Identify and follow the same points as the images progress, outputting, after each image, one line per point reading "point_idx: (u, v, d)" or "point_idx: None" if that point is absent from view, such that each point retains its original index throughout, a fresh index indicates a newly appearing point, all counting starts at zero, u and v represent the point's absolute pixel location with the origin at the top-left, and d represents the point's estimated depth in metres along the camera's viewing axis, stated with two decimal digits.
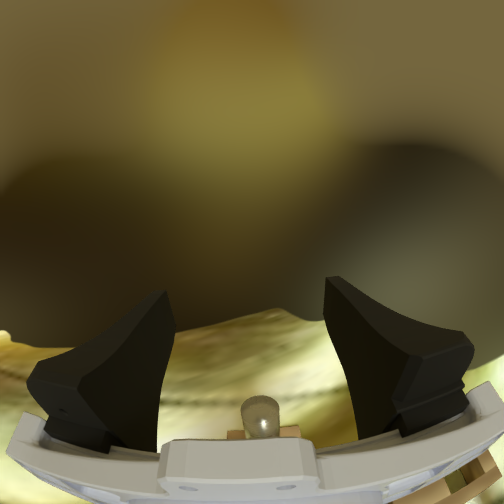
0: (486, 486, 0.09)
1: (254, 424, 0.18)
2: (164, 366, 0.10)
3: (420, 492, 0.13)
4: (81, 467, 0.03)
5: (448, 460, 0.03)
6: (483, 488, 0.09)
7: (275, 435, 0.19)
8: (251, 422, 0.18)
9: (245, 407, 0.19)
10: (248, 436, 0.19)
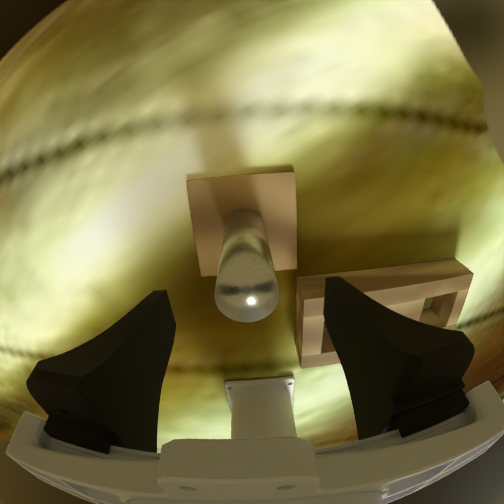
0: None
1: (239, 319, 0.13)
2: (164, 366, 0.10)
3: None
4: (81, 467, 0.03)
5: (448, 460, 0.03)
6: None
7: None
8: (234, 319, 0.13)
9: (221, 294, 0.13)
10: None
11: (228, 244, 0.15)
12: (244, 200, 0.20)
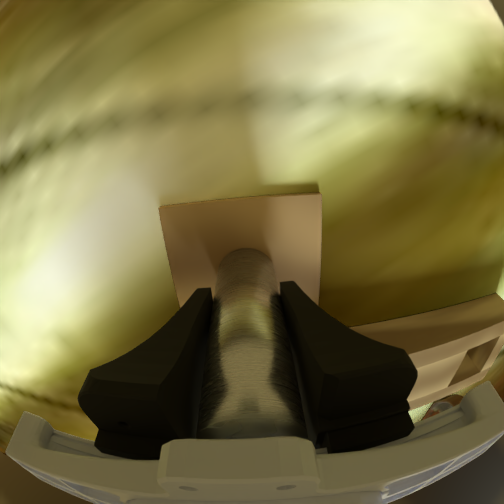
0: (469, 384, 0.17)
1: None
2: None
3: (430, 382, 0.16)
4: (81, 467, 0.03)
5: (448, 460, 0.03)
6: (466, 385, 0.17)
7: None
8: None
9: None
10: None
11: (219, 333, 0.09)
12: (245, 236, 0.14)
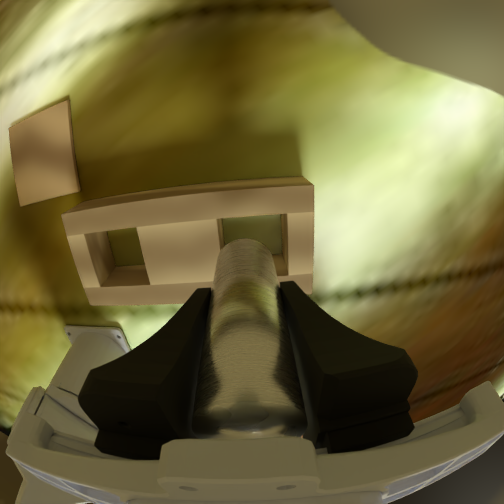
0: None
1: None
2: None
3: (181, 259, 0.19)
4: (81, 467, 0.03)
5: (448, 460, 0.03)
6: None
7: None
8: None
9: (205, 432, 0.06)
10: None
11: (211, 323, 0.09)
12: (37, 133, 0.17)
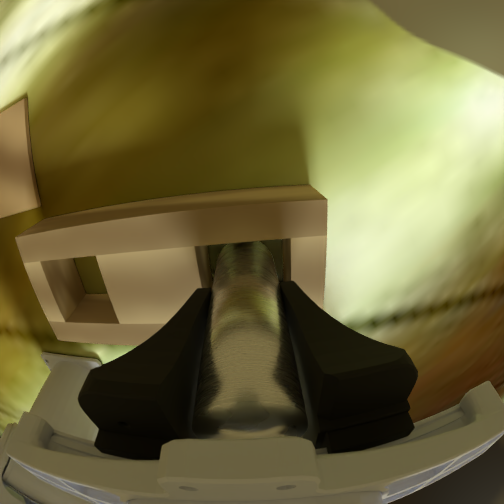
0: None
1: None
2: None
3: (152, 295, 0.14)
4: (81, 467, 0.03)
5: (448, 460, 0.03)
6: None
7: None
8: None
9: (205, 433, 0.06)
10: None
11: (211, 323, 0.09)
12: None
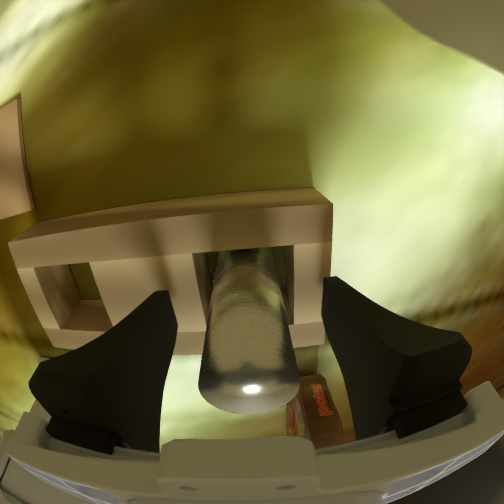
0: None
1: (246, 410, 0.08)
2: (166, 366, 0.10)
3: None
4: (81, 467, 0.03)
5: (448, 460, 0.03)
6: None
7: None
8: (237, 412, 0.08)
9: (210, 390, 0.07)
10: None
11: (215, 298, 0.10)
12: None
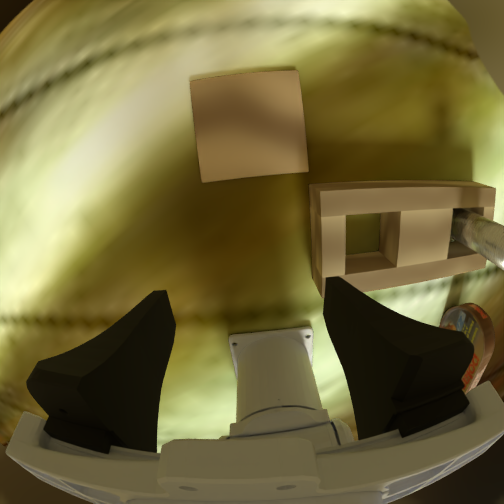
0: (471, 269, 0.20)
1: None
2: (164, 366, 0.10)
3: (426, 241, 0.19)
4: (81, 467, 0.03)
5: (448, 460, 0.03)
6: (468, 269, 0.20)
7: None
8: None
9: None
10: (481, 254, 0.16)
11: (479, 225, 0.16)
12: (248, 96, 0.18)
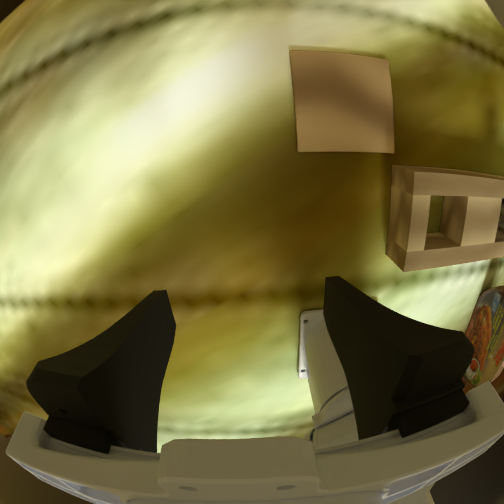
0: None
1: None
2: (164, 366, 0.10)
3: (482, 225, 0.18)
4: (81, 467, 0.03)
5: (448, 460, 0.03)
6: None
7: None
8: None
9: None
10: None
11: None
12: (346, 75, 0.16)
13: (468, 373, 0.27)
